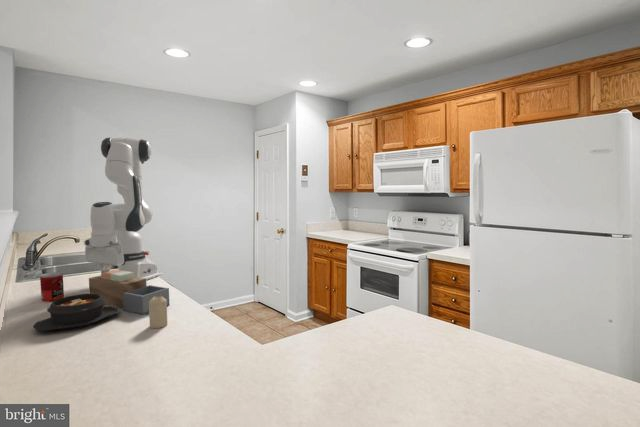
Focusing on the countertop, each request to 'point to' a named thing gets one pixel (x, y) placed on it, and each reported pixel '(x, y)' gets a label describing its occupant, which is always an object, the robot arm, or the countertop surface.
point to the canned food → (51, 286)
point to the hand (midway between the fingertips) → (105, 274)
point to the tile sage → (122, 276)
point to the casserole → (75, 312)
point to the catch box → (143, 298)
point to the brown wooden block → (114, 289)
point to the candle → (158, 312)
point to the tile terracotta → (108, 274)
